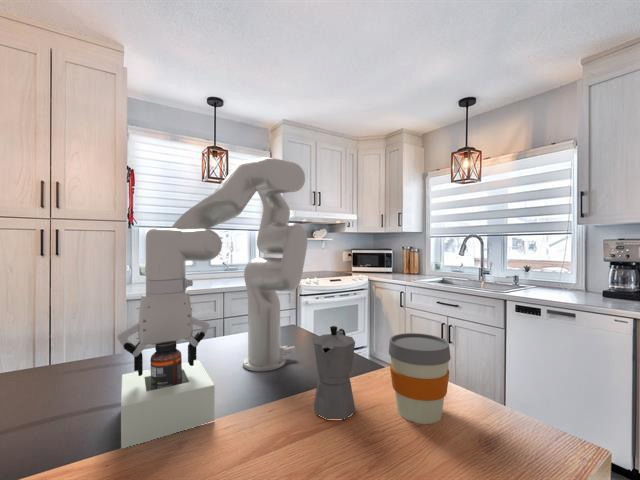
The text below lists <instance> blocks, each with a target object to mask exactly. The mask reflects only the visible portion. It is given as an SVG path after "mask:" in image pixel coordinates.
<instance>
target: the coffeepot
mask: <svg viewBox="0 0 640 480" xmlns="http://www.w3.org/2000/svg"><path fill="white" fill-rule="evenodd" d="M329 329H330V333H329V334H327V333H326V334H322V335H319V336H316V337H313V338H312V342H313V347H314V354H315V361H316V368H317V373H318V378H317V381H316V382H317V383H316V389H315V394H314V395H315V397H314V402H313V410H314V409H315V411H314V414H315V415H316V414H317V415H320V416H322V417H324V418H326V419H344V418H347V417H348V416H350V415H351V414H352V413H353V414H354V413H356V412H355V411H356V405H355V399H354V396H353V395H354V394H353V388H352V382H351V378H350V374H351V373H352V369H353V361H354V354H355V347H356V341H355V339H354V337H353V336H349V335H347V334H346V332H345V330H344V329H343V328H339V329H338V326H335V325H331V326H330V327H329ZM317 415H316V416H317ZM347 419H348V418H347Z"/></svg>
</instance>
